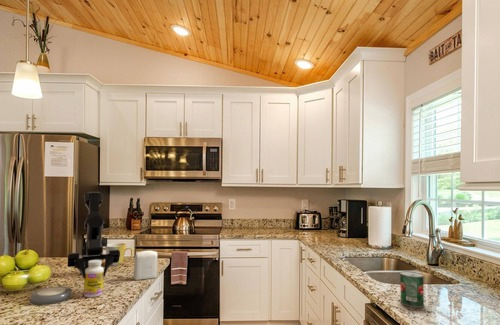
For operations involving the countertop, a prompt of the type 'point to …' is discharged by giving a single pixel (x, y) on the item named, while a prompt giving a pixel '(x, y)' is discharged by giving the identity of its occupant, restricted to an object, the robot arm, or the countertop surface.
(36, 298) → the charcoal trivet
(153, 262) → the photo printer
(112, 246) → the mug
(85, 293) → the supplement bottle
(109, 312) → the countertop surface
